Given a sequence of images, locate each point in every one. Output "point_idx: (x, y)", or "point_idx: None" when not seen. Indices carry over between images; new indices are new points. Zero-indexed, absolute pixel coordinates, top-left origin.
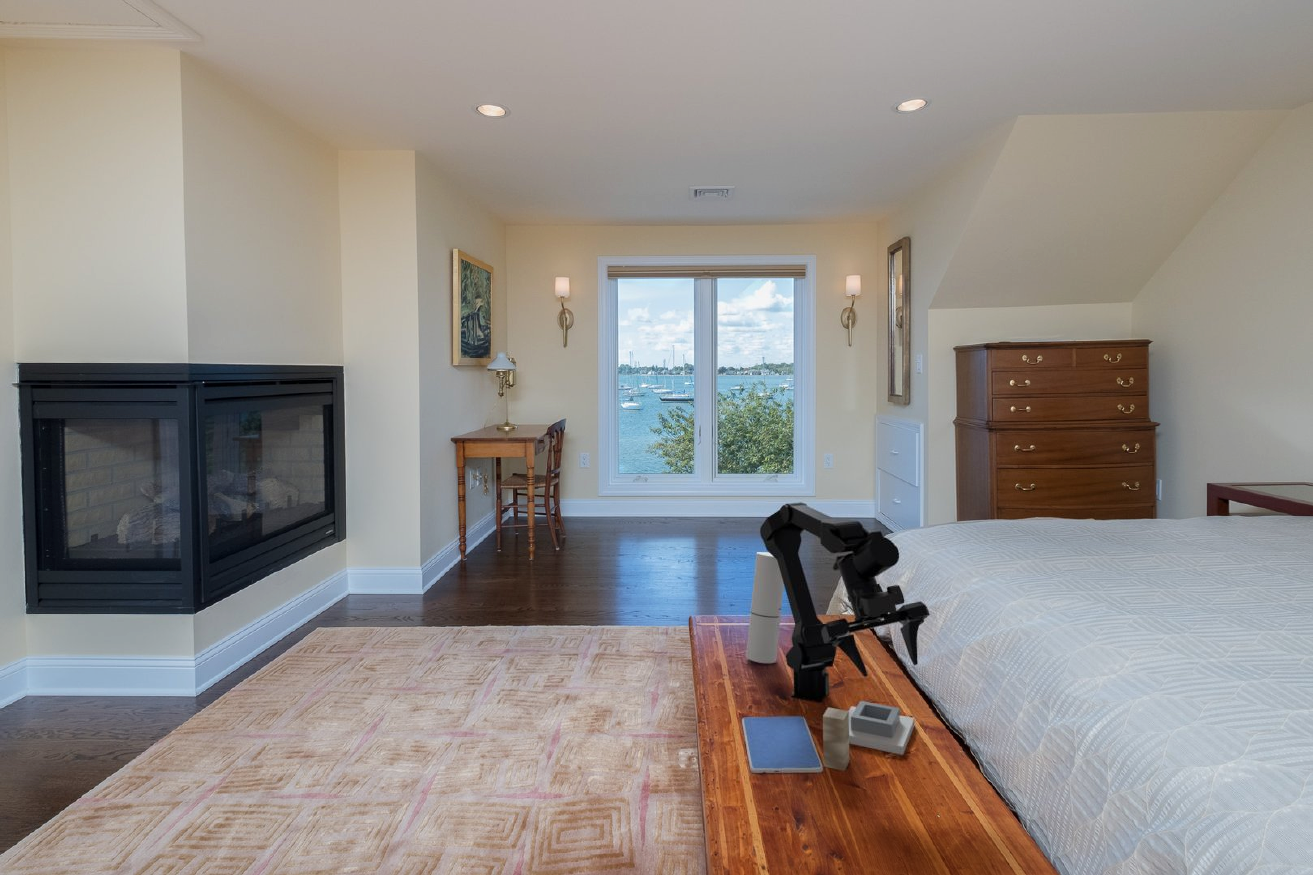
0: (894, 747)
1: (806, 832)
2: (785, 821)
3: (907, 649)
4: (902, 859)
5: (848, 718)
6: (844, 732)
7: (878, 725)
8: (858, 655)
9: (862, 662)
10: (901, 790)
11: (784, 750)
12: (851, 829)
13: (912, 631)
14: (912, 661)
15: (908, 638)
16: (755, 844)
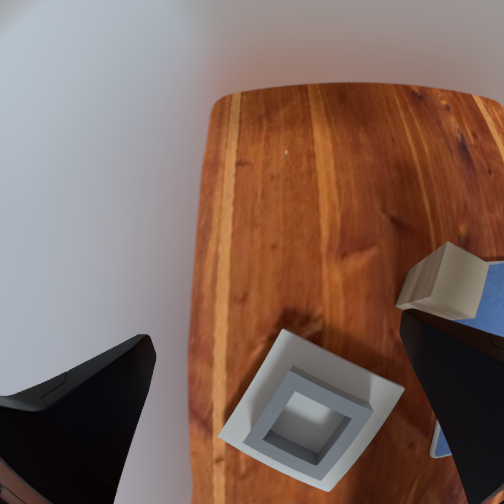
0: (298, 336)
1: (451, 126)
2: (475, 146)
3: (133, 429)
4: (349, 87)
5: (424, 295)
6: (433, 254)
7: (317, 383)
8: (475, 343)
9: (442, 327)
10: (323, 208)
11: (493, 324)
12: (404, 126)
13: (21, 404)
14: (151, 366)
15: (79, 422)
16: (489, 117)
